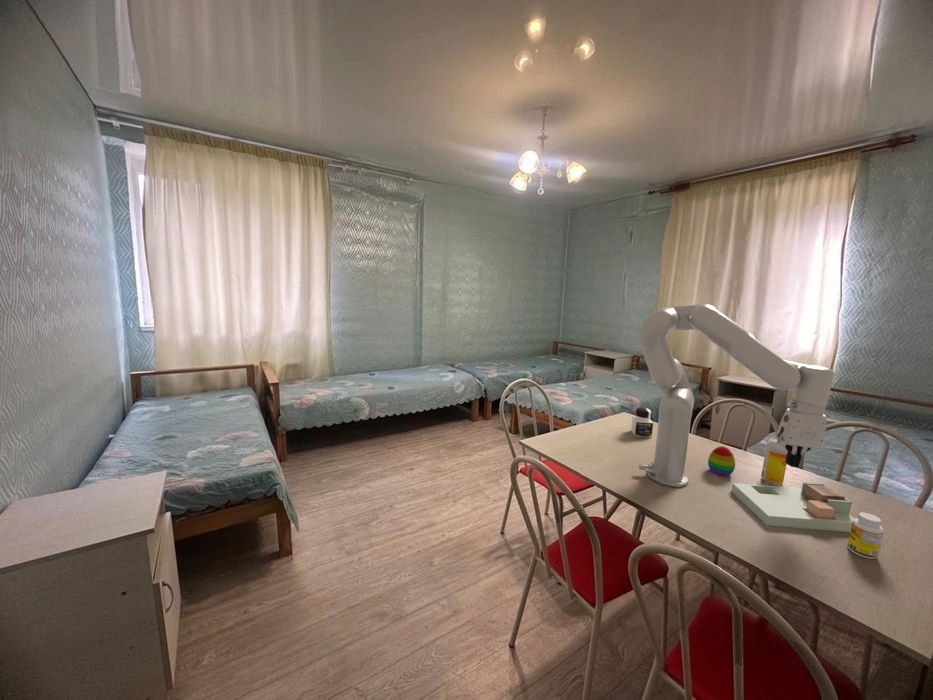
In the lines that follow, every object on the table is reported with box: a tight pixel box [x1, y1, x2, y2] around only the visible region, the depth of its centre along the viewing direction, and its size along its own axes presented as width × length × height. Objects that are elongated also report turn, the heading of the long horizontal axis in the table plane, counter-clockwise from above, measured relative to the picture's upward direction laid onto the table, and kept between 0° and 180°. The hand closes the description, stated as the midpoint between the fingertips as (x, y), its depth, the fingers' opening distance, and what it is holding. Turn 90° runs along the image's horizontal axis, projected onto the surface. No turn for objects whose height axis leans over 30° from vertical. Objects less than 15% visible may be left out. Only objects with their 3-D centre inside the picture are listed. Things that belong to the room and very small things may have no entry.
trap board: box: [731, 481, 855, 533], centre depth 116 cm, size 24×18×7 cm
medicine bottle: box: [630, 407, 654, 439], centre depth 173 cm, size 7×7×12 cm
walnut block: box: [804, 484, 846, 504], centre depth 115 cm, size 6×6×4 cm
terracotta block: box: [806, 500, 834, 519], centre depth 111 cm, size 4×4×6 cm
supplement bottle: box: [847, 512, 885, 560], centre depth 98 cm, size 6×6×10 cm
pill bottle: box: [760, 437, 788, 486], centre depth 133 cm, size 6×6×15 cm
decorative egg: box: [707, 446, 736, 477], centre depth 139 cm, size 8×8×10 cm
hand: (791, 465), depth 115 cm, fingers closed
